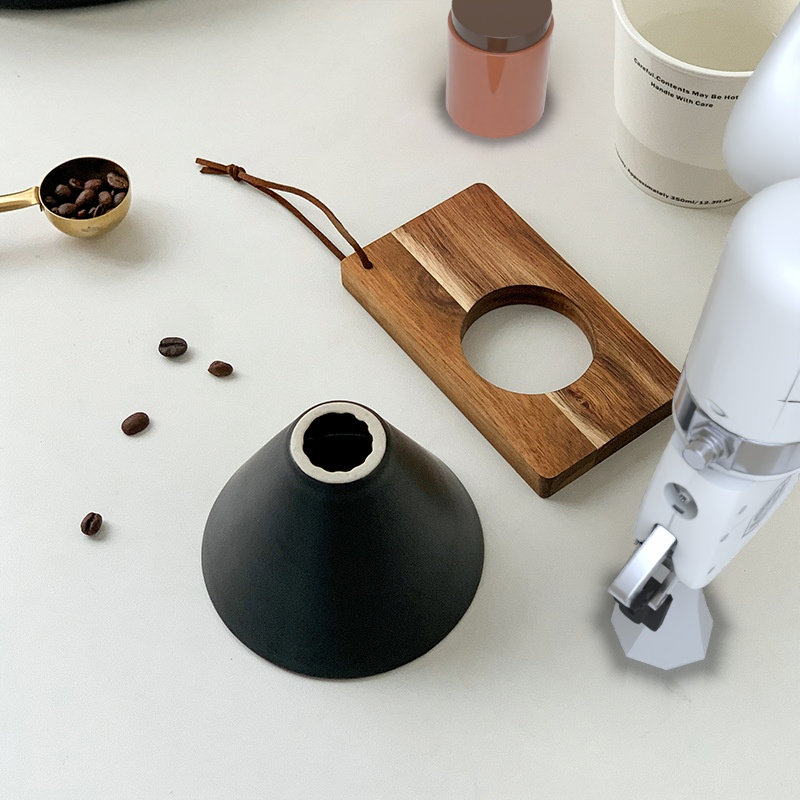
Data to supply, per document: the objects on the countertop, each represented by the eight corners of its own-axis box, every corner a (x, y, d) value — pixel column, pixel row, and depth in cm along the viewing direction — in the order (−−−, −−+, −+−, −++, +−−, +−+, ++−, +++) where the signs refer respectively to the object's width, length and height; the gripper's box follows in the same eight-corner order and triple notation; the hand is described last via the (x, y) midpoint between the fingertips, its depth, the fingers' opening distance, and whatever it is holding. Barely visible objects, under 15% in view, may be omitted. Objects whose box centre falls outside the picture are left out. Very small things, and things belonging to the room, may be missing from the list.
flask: (609, 675, 79) (632, 614, 71) (603, 575, 83) (623, 507, 75) (719, 678, 79) (754, 618, 71) (707, 578, 83) (740, 510, 75)
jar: (525, 67, 112) (535, -39, 103) (557, 132, 107) (571, 28, 98) (433, 86, 111) (434, -19, 101) (462, 153, 106) (466, 49, 97)
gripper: (713, 564, 53) (647, 700, 67) (917, 340, 60) (818, 507, 74) (581, 463, 56) (545, 614, 70) (790, 261, 63) (719, 436, 77)
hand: (686, 559), depth 72 cm, fingers open, 9 cm apart
